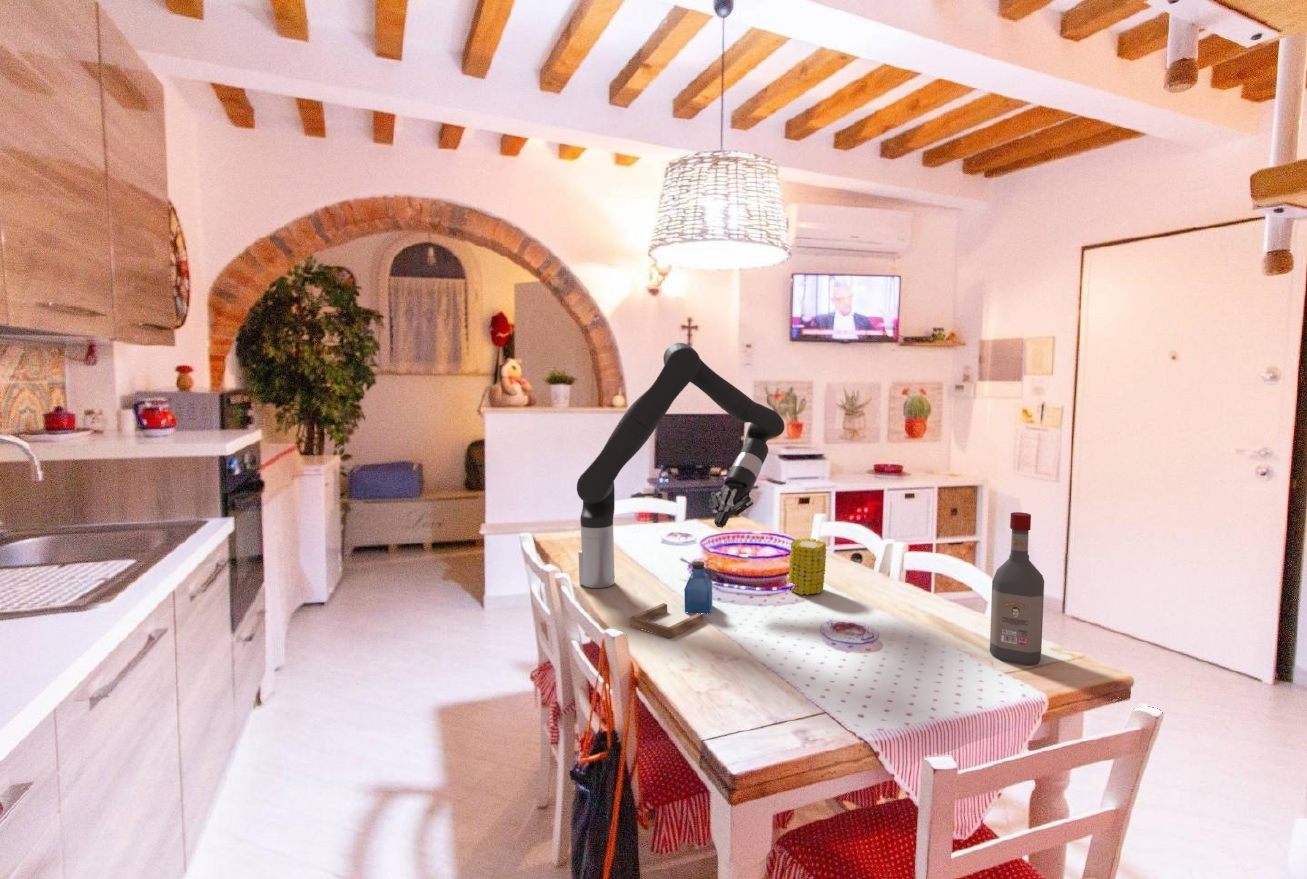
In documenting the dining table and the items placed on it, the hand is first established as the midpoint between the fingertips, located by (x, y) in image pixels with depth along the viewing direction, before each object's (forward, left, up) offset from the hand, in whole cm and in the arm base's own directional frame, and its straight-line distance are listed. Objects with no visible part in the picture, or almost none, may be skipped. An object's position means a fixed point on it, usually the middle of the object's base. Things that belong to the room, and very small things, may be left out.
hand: (718, 525), depth 177 cm
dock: (-6, -21, -20) cm, 30 cm away
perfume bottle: (-2, -9, -20) cm, 22 cm away
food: (+20, +15, -20) cm, 32 cm away
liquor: (+69, -9, -20) cm, 72 cm away
